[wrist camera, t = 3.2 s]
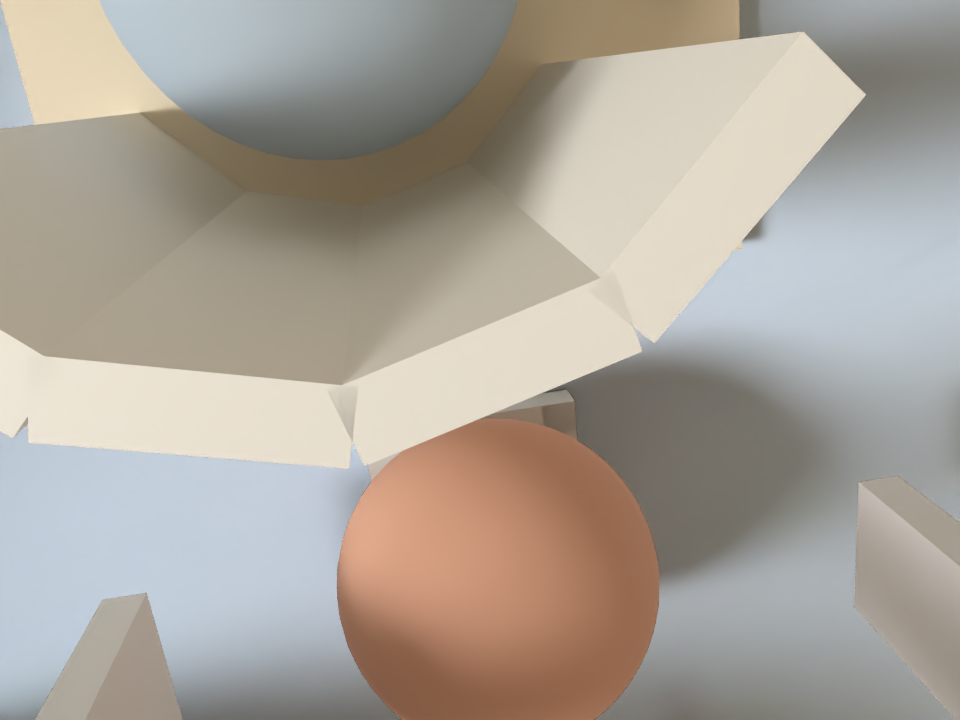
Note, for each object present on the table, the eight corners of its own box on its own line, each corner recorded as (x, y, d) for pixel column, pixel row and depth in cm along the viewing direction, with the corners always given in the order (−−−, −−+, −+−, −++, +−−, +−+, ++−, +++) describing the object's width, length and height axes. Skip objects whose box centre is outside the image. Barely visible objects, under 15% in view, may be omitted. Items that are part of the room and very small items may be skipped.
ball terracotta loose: (366, 635, 19) (362, 866, 14) (321, 397, 17) (293, 550, 12) (618, 593, 20) (714, 798, 14) (601, 356, 18) (706, 483, 12)
